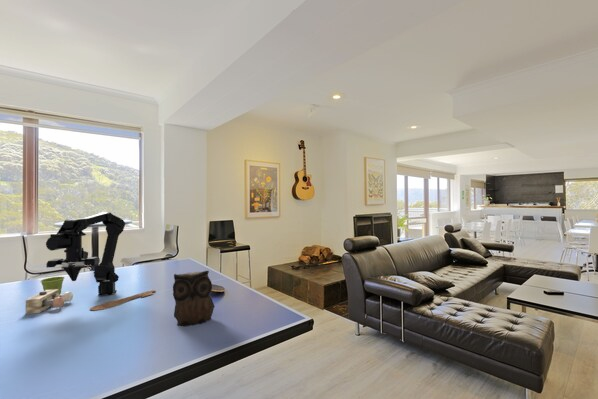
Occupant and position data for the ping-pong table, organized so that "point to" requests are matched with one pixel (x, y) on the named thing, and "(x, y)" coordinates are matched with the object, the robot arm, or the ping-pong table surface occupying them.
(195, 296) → the owl
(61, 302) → the knob
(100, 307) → the paddle
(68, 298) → the knob
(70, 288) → the ping-pong table surface
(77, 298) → the ping-pong table surface
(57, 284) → the plant pot
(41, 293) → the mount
